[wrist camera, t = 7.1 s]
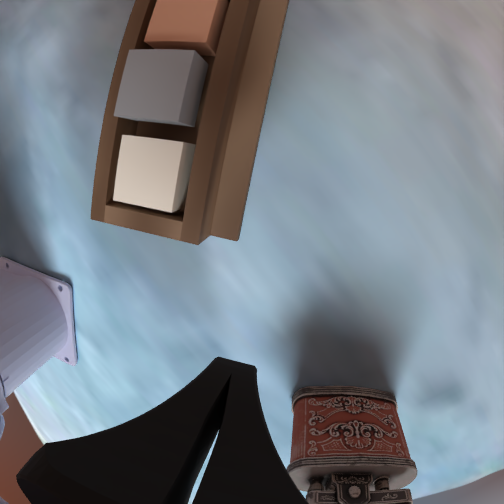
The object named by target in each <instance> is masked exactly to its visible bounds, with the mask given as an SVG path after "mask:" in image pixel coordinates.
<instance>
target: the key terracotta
mask: <svg viewBox="0 0 504 504" xmlns="http://www.w3.org/2000/svg"><path fill="white" fill-rule="evenodd" d="M229 4H230V3H229V1H228V0H157V2H156V5H155V8H154V11H153V14H152V17H151V20H150V23H149V26H148V29H147V33H146V36H145V39H144V42H145V43H147V44H148V45H150V46H151V47H153V48H154V49H176V50H195V51H196V52H197V53H198V54H199V55H205V56H216V52H217V48H218V44H219V40H220V36H221V33H222V29H223V25H224V21H225V18H226V14H227V11H228V7H229Z"/></svg>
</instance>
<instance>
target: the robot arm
mask: <svg viewBox="0 0 504 504" xmlns="http://www.w3.org/2000/svg"><path fill="white" fill-rule="evenodd" d="M61 286H62V288H61ZM53 356H54V357H56V358H58V359H60V360H62V361H64V362H66V363H68V364H70V365H72V366H75V365H76V364H77V353H76V343H75V332H74V319H73V301H72V288H71V286H70V285H69V284H68V283H66V282H64V281H61V280H59V279H56V278H53V277H51V276H48V275H46V274H43V273H41V272H38V271H36V270H33V269H31V268H28V267H26V266H24V265H21V264H19V263H17V262H14V261H12V260H10V259H7V258H5V257H0V439H1V436H2V432H3V429H4V423H5V422H4V418H3V416H2V413H3V412H4V411H5V410H6V409H8V408H9V405H8V404H7V402H6V400H5V398H6V397H7V396H9V395H10V394H11V393H12V392H13V391H14V390H15V389H16V388H17V387H19V386H20V385H21V384H22V383H23V382H24V381H25V380H27V379H28V378H29V377H30V376H31V375H32V374H33V373H34V372H36V371H37V370H38V369H39V368H40V367H41V366H43V365H44V364H45V363H46V362H47V361H48V360H50V359H51V358H52V357H53ZM218 430H219V433H218ZM217 433H218V437H217V440H216V443H215V445H214V448H213V451H212V454H211V457H210V459H209V462H208V465H207V467H206V470H205V473H204V475H203V478H202V480H201V483H200V486H199V488H198V491H197V493H196V496H195V498H194V500H193V503H192V504H309V503H308V502H307V501H306V499H305V498H304V497H303V495H302V494H301V492H300V491H299V489H298V488H297V486H296V485H295V483H294V481H293V480H292V478H291V477H290V475H289V473H288V472H287V470H286V468H285V467H284V465H283V463H282V461H281V459H280V457H279V455H278V453H277V450H276V448H275V446H274V444H273V441H272V439H271V436H270V433H269V430H268V428H267V425H266V422H265V418H264V415H263V411H262V407H261V403H260V398H259V393H258V386H257V369H256V367H255V366H253V365H249V364H245V363H241V362H237V361H233V360H229V359H225V358H222V357H217V358H215V359H214V360H213V361H212V362H211V363H210V364H209V365H208V367H207V368H206V369H205V370H204V371H202V372H201V373H200V374H199V375H198V376H197V377H196V378H195V379H194V380H192V381H191V382H190V383H189V384H188V385H186V386H185V387H184V388H183V389H181V390H180V391H179V392H177V393H176V394H175V395H173V396H172V397H170V398H169V399H167V400H166V401H165V402H163V403H161V404H160V405H158V406H157V407H155V408H153V409H151V410H150V411H148V412H146V413H144V414H142V415H140V416H138V417H136V418H134V419H132V420H130V421H127V422H125V423H123V424H121V425H118V426H116V427H113V428H110V429H107V430H104V431H101V432H97V433H94V434H91V435H88V436H84V437H80V438H75V439H69V440H64V441H58V442H52V443H46V444H45V445H44V446H43V447H42V448H40V449H39V450H38V451H37V452H36V453H35V454H34V455H33V456H32V457H31V458H30V459H29V461H28V462H27V463H26V464H25V465H24V467H23V468H22V469H21V470H20V471H19V473H18V474H17V475H16V477H17V482H18V484H19V486H20V488H21V490H22V491H23V493H24V494H25V495H26V497H27V498H28V500H29V501H30V502H31V504H188V501H189V498H190V495H191V492H192V489H193V486H194V484H195V481H196V479H197V477H198V474H199V472H200V470H201V468H202V466H203V464H204V461H205V459H206V457H207V455H208V453H209V450H210V448H211V446H212V444H213V442H214V439H215V437H216V435H217ZM0 504H8V503H7V502H6V501H5V500H3V499H2V498H1V497H0Z"/></svg>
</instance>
